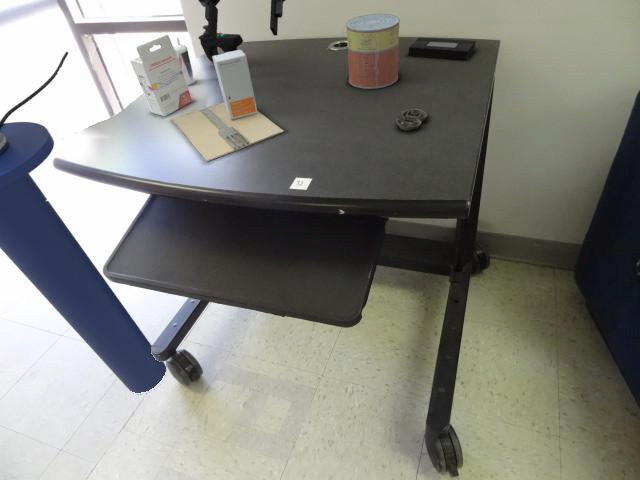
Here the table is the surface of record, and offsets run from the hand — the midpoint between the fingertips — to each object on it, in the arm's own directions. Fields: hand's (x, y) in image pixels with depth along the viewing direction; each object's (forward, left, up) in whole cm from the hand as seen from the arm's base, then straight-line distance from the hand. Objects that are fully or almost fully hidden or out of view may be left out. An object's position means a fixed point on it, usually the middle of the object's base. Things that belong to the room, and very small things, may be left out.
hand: (242, 34), depth 84 cm
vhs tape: (+12, +46, -13) cm, 49 cm away
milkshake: (-20, -10, -13) cm, 26 cm away
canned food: (+13, +24, -13) cm, 31 cm away
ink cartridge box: (-8, -18, -13) cm, 24 cm away
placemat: (+10, -12, -13) cm, 20 cm away
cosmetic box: (+8, -7, -13) cm, 16 cm away
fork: (+10, -13, -13) cm, 21 cm away
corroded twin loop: (+35, +16, -13) cm, 41 cm away
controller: (-23, +2, -13) cm, 27 cm away
